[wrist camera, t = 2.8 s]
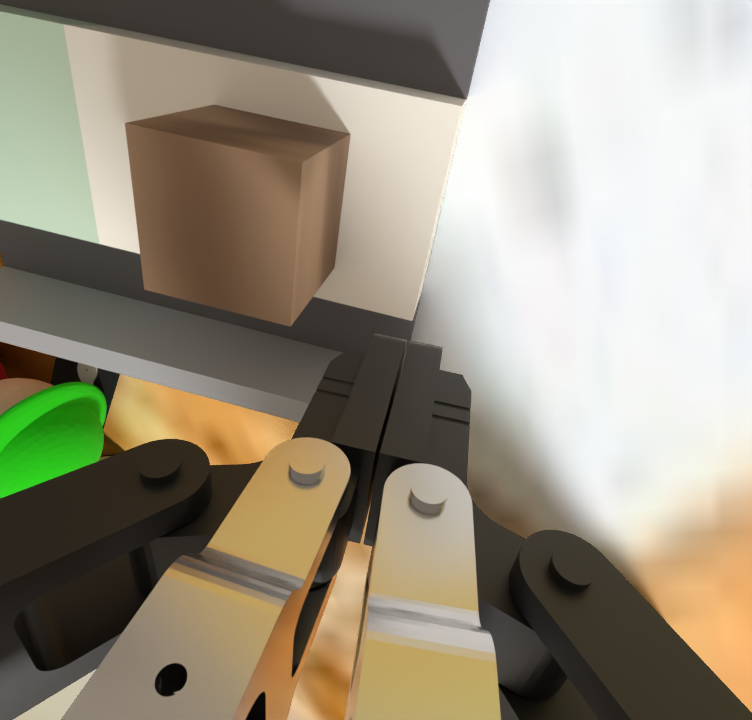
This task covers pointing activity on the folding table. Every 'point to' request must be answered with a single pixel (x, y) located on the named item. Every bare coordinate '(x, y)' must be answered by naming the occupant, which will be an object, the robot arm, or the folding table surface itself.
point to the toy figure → (52, 423)
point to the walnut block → (237, 208)
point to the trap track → (237, 91)
